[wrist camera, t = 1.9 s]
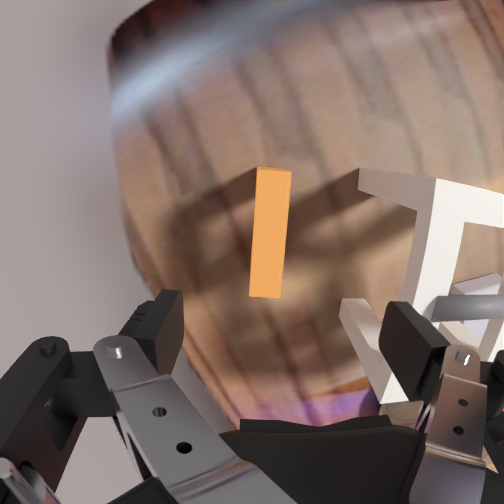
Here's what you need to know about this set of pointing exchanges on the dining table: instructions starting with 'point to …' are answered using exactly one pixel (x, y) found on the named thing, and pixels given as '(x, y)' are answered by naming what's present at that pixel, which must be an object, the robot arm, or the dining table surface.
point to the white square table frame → (429, 271)
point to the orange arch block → (269, 231)
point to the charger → (477, 287)
